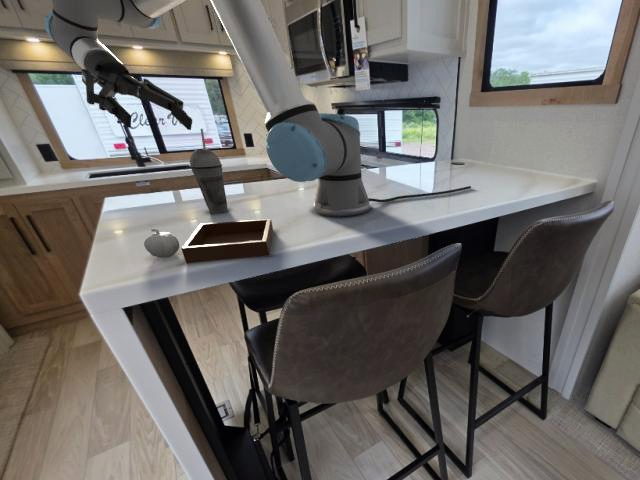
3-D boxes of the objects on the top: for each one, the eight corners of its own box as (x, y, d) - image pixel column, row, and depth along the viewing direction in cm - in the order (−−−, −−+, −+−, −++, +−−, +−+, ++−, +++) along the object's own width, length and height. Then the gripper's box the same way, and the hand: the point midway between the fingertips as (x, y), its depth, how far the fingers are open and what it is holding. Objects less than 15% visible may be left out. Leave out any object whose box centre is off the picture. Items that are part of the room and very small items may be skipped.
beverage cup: (203, 209, 91) (179, 128, 81) (232, 206, 94) (212, 127, 84) (203, 216, 86) (177, 130, 75) (234, 212, 88) (213, 129, 78)
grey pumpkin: (148, 253, 65) (138, 228, 62) (180, 247, 67) (171, 222, 65) (151, 264, 60) (139, 237, 58) (184, 257, 63) (175, 231, 61)
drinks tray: (273, 231, 76) (270, 218, 75) (269, 255, 64) (266, 241, 63) (204, 236, 73) (200, 223, 71) (186, 263, 61) (180, 248, 59)
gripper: (156, 89, 90) (208, 138, 89) (34, 73, 70) (97, 136, 68) (159, 61, 86) (213, 112, 84) (29, 35, 66) (97, 101, 64)
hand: (162, 123), depth 76 cm, fingers open, 13 cm apart
